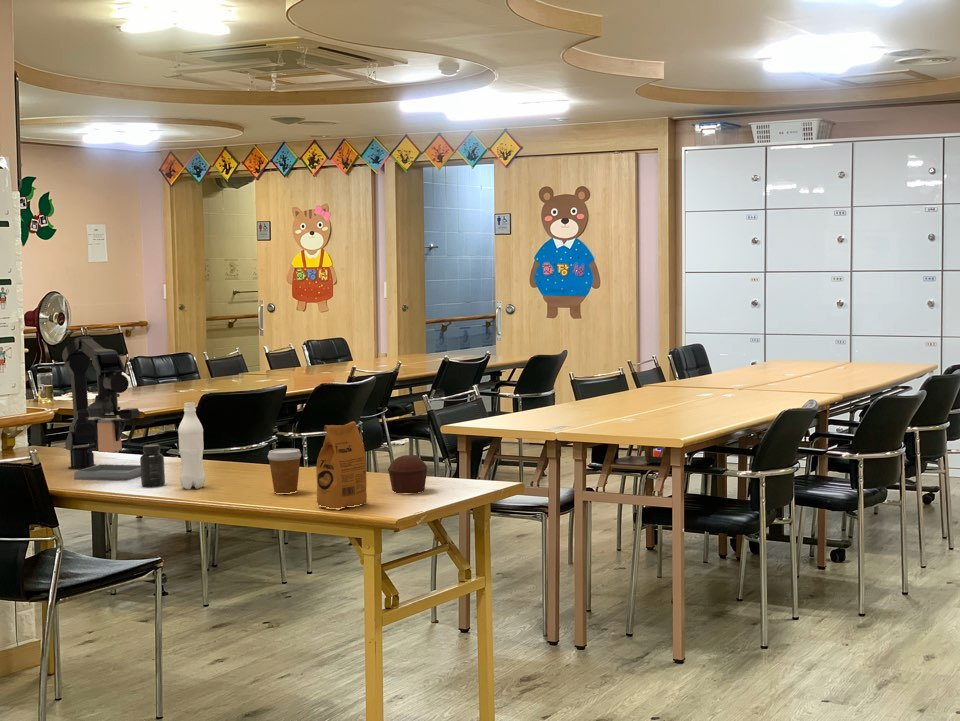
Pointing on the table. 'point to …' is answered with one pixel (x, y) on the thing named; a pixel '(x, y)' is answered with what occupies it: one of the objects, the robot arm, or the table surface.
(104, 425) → the tall box
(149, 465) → the supplement bottle
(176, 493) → the table surface
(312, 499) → the table surface
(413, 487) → the muffin
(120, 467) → the tray
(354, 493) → the coffee package
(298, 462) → the disposable coffee cup
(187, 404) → the water bottle
